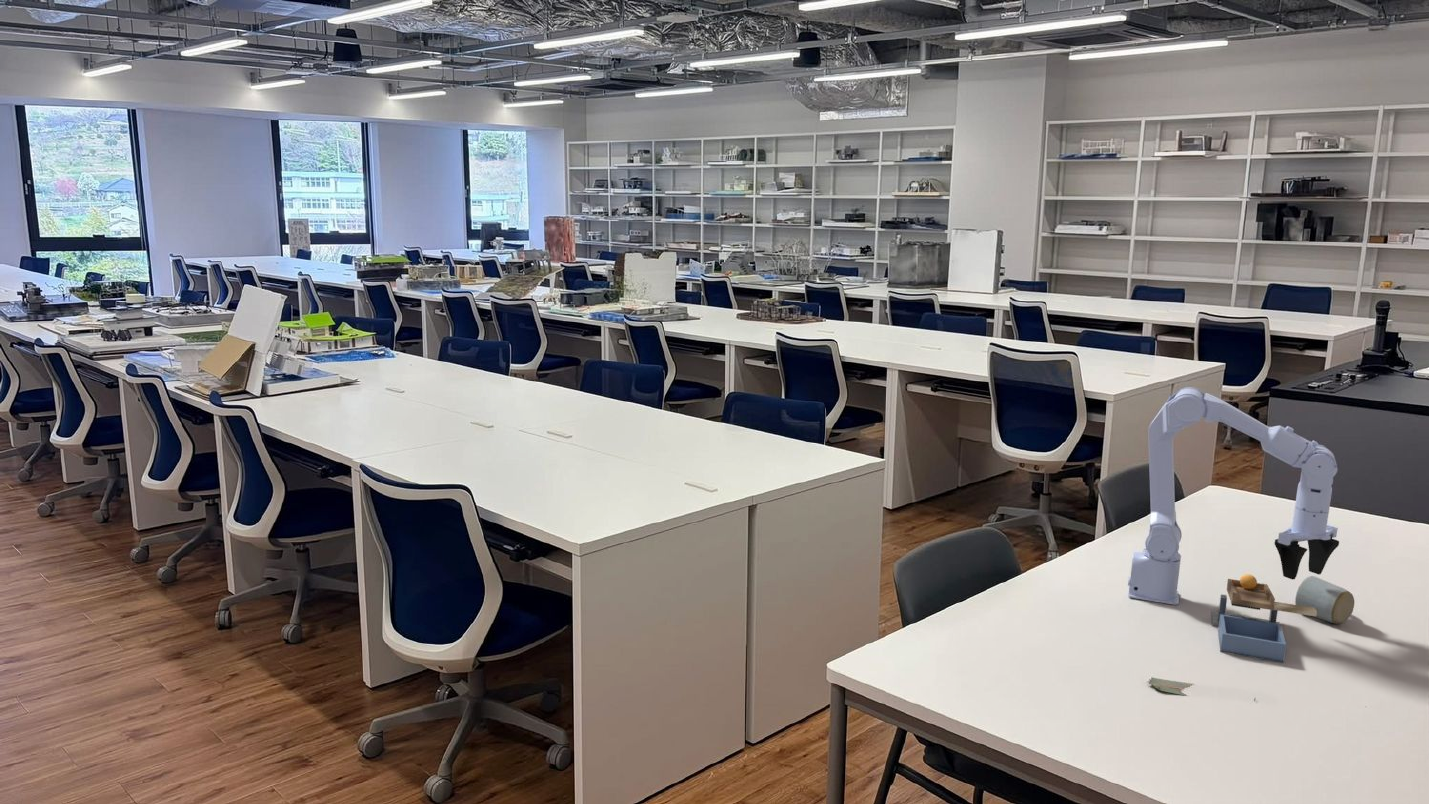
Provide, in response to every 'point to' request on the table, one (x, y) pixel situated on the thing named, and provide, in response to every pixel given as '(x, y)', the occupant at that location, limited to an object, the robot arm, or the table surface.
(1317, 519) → the robot arm
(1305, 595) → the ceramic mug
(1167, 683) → the map
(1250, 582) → the orange ball
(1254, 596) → the tilt ramp
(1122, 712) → the table surface
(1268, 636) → the bin
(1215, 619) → the pivot stand
